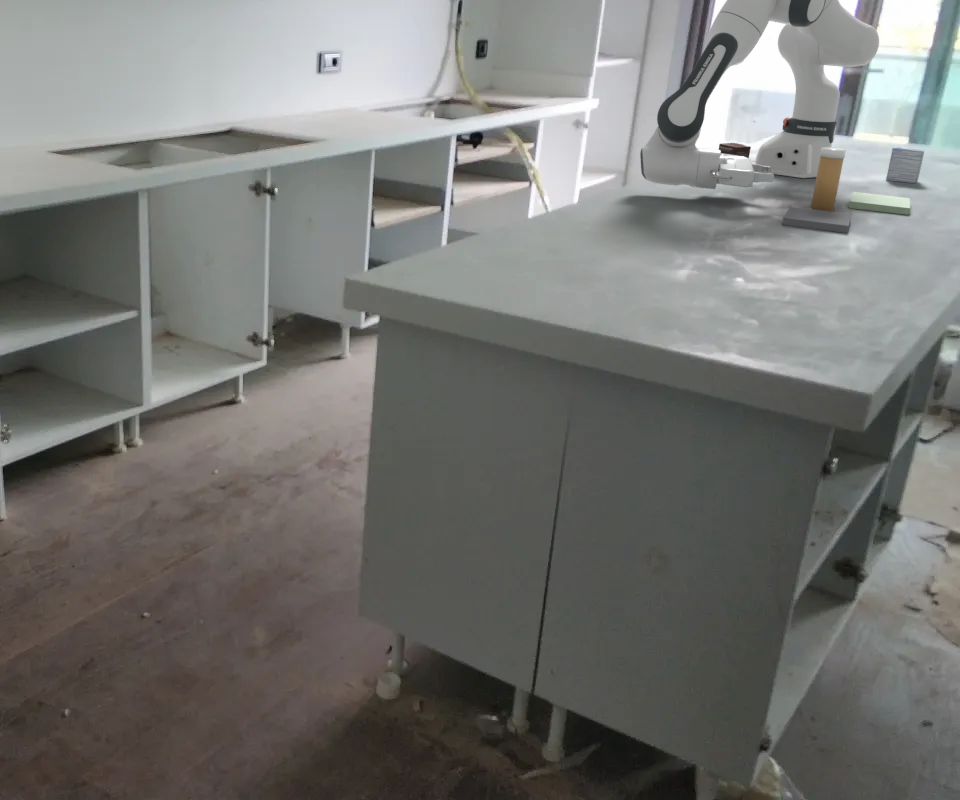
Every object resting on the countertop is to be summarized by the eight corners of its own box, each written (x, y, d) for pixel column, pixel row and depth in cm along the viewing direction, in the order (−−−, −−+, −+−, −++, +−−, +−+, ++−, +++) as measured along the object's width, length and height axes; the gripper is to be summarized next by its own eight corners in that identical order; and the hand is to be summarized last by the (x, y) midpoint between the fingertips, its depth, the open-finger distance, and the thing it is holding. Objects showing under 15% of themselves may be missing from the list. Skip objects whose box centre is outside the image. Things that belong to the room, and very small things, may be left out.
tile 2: (848, 207, 224) (849, 201, 223) (851, 197, 235) (852, 191, 234) (908, 214, 220) (910, 208, 219) (908, 204, 231) (909, 198, 230)
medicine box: (917, 181, 261) (925, 148, 258) (917, 184, 258) (924, 151, 254) (886, 178, 264) (893, 145, 261) (885, 180, 261) (892, 147, 257)
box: (714, 171, 261) (718, 143, 258) (729, 169, 264) (733, 142, 261) (732, 175, 256) (736, 147, 254) (747, 173, 260) (751, 146, 257)
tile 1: (782, 224, 204) (783, 217, 203) (788, 213, 215) (789, 206, 214) (847, 233, 200) (848, 225, 199) (850, 220, 211) (851, 214, 210)
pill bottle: (809, 209, 220) (820, 149, 214) (811, 205, 224) (822, 146, 219) (833, 212, 218) (845, 152, 213) (834, 208, 222) (846, 149, 217)
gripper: (713, 162, 212) (778, 167, 210) (712, 148, 230) (771, 153, 228) (708, 191, 214) (773, 196, 212) (708, 175, 233) (767, 180, 231)
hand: (772, 174), depth 220 cm, fingers open, 8 cm apart
